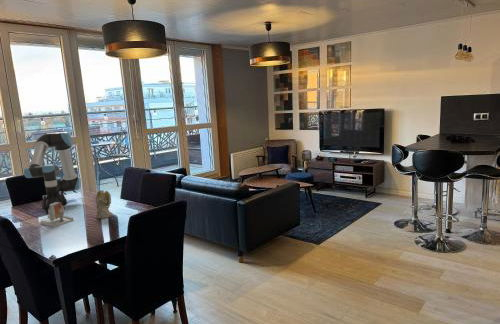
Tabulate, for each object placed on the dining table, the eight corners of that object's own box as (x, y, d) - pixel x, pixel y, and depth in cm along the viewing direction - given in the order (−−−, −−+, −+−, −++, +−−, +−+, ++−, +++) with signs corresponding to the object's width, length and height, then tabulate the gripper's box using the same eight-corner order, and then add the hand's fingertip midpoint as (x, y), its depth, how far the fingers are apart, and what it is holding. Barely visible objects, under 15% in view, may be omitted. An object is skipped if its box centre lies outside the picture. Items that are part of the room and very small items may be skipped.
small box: (55, 219, 243) (53, 205, 241) (49, 219, 244) (46, 205, 242) (63, 215, 250) (61, 201, 249) (57, 215, 252) (55, 202, 250)
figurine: (96, 220, 246) (92, 193, 242) (95, 216, 256) (91, 190, 253) (113, 217, 251) (110, 190, 248) (112, 213, 261) (108, 187, 258)
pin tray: (59, 217, 258) (58, 207, 257) (73, 220, 249) (71, 209, 247) (40, 223, 247) (38, 212, 245) (54, 226, 237) (52, 215, 236)
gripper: (63, 182, 254) (68, 211, 258) (32, 189, 236) (37, 220, 240) (69, 182, 250) (73, 212, 254) (38, 190, 232) (43, 221, 236)
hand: (56, 216), depth 247 cm, fingers closed on small box, 9 cm apart
